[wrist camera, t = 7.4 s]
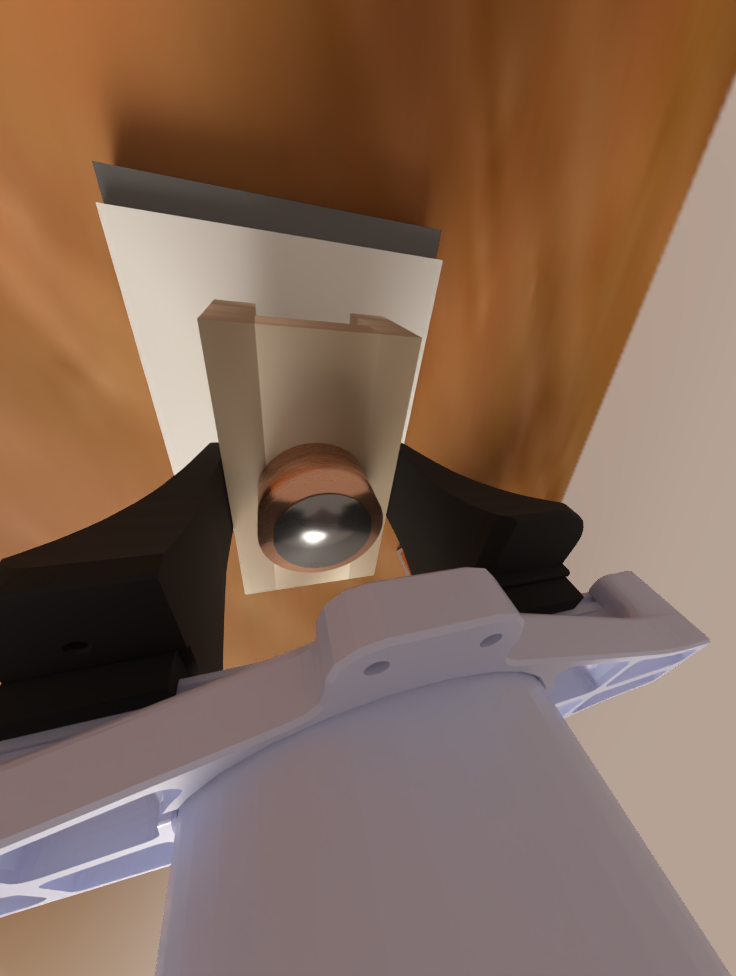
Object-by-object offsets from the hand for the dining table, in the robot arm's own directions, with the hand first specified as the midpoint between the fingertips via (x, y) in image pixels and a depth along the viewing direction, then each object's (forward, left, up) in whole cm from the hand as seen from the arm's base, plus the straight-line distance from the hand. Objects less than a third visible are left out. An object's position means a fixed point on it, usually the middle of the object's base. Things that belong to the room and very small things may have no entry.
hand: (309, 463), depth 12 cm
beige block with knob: (0, 0, -2) cm, 2 cm away
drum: (0, 0, +2) cm, 2 cm away
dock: (0, 0, -7) cm, 7 cm away
